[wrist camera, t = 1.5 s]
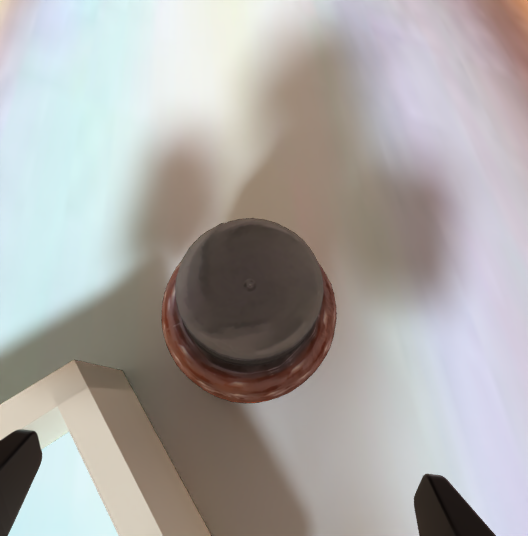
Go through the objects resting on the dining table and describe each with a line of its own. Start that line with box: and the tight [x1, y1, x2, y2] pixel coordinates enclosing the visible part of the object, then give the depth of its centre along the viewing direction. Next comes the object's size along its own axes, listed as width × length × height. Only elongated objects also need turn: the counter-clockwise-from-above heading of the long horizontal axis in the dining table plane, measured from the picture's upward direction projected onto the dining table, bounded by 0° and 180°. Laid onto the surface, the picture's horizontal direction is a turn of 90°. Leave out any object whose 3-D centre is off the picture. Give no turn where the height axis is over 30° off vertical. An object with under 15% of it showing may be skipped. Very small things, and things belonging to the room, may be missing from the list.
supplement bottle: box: [162, 218, 337, 403], centre depth 15 cm, size 6×6×11 cm
